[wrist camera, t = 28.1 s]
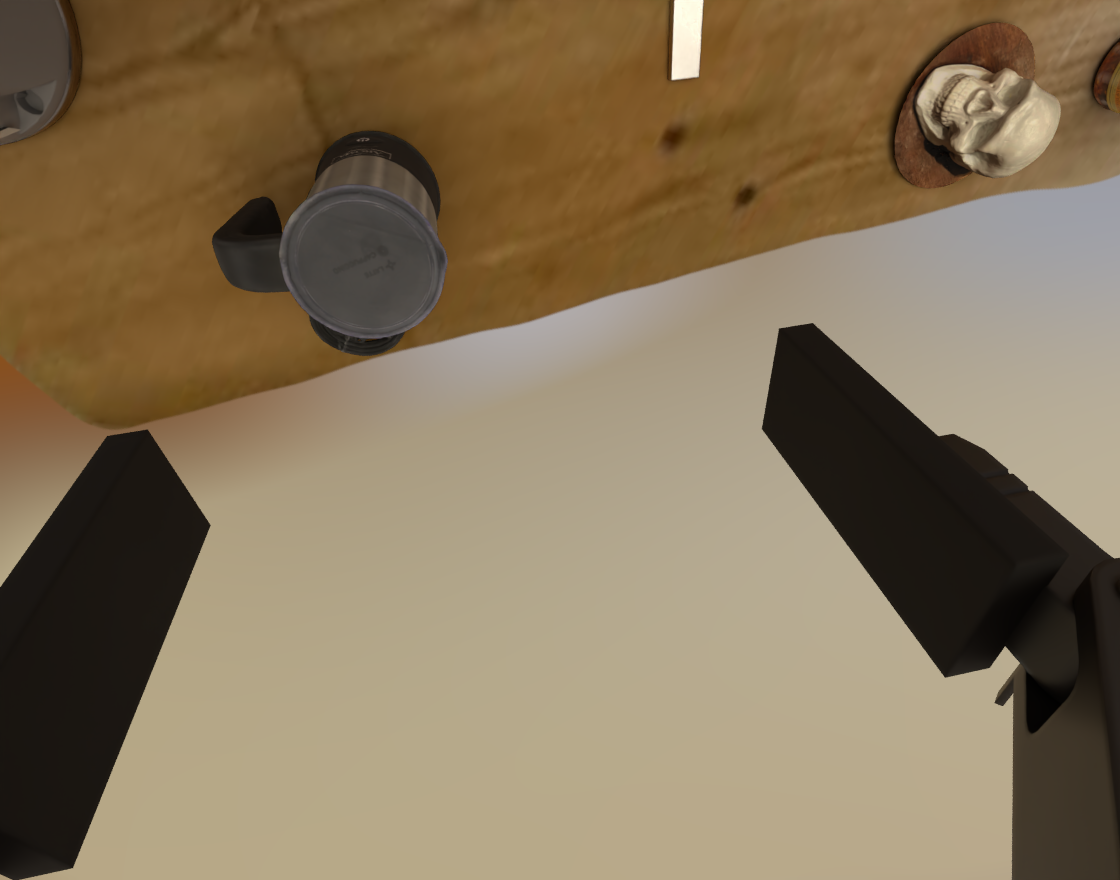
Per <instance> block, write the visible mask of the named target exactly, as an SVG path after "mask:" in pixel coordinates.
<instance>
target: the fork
mask: <svg viewBox="0 0 1120 880" xmlns="http://www.w3.org/2000/svg"><path fill="white" fill-rule="evenodd" d="M703 7H704V0H670V29H669V60H668V80H671V81H675V80H683V79H692V78H698V77H699V72H700V56H701V39H702V23H703Z"/></svg>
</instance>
